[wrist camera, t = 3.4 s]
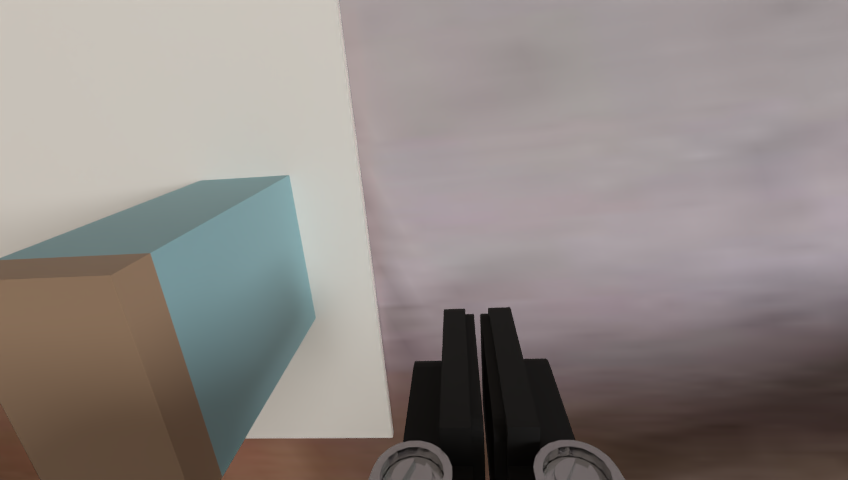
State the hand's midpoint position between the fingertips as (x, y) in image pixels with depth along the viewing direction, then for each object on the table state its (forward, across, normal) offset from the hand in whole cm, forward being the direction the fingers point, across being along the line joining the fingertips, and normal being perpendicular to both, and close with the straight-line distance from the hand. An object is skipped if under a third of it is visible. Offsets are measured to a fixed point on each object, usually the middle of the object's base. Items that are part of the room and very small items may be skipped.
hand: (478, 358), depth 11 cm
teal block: (+8, +10, 0) cm, 13 cm away
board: (+9, +14, 0) cm, 17 cm away
